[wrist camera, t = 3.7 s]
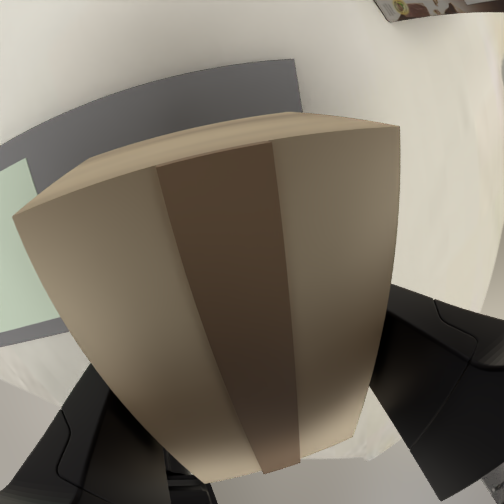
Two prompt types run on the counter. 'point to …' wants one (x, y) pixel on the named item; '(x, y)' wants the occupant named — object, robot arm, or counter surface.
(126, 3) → the counter surface
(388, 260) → the taped cardboard box
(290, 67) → the mat
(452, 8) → the coffee box
